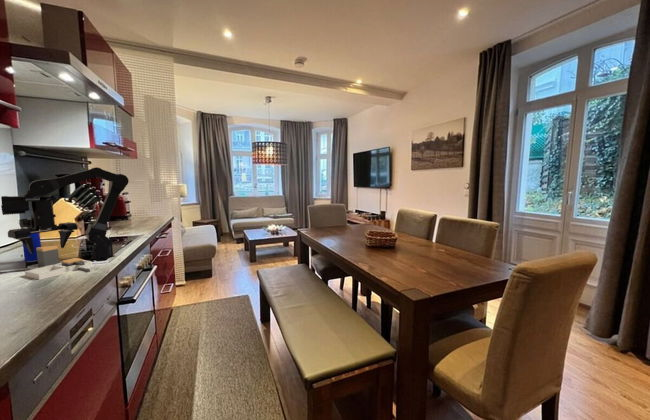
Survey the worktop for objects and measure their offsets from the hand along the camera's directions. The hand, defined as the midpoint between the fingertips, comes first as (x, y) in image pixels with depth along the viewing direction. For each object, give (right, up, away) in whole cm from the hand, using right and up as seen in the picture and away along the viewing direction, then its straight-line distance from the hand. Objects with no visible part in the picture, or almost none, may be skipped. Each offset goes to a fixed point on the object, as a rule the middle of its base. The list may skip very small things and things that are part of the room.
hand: (47, 250), depth 107 cm
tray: (0, -7, +1) cm, 7 cm away
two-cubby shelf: (+9, -7, -4) cm, 12 cm away
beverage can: (-14, -6, +8) cm, 18 cm away
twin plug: (+14, -7, -1) cm, 16 cm away
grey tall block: (0, -6, +1) cm, 6 cm away
